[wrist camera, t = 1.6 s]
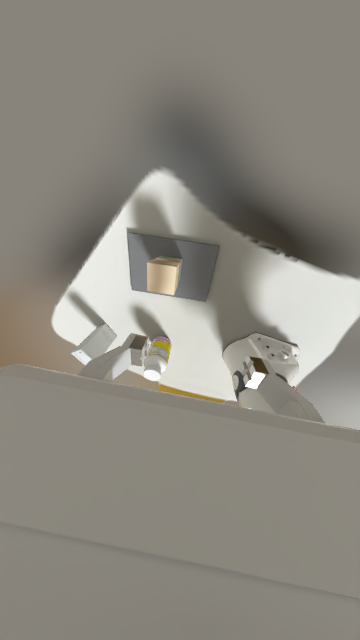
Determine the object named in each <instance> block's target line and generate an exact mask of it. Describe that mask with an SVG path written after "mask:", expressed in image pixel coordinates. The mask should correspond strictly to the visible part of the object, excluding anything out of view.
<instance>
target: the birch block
mask: <svg viewBox="0 0 360 640" xmlns="http://www.w3.org/2000/svg"><path fill="white" fill-rule="evenodd" d="M181 267H182V259H181V258H174V257H168V256H159V257H157V258H155V259H153V260H151V261H149V262H147V291H150V292H156V293H162V294H169V295H174V294H175V291H176V289H177V286H178V284H179V281H180V275H181Z"/></svg>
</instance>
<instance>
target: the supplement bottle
mask: <svg viewBox="0 0 360 640" xmlns="http://www.w3.org/2000/svg"><path fill="white" fill-rule="evenodd" d="M170 350H171V342H170V341H169V339H167V338H165V337H161V336H160V337H156V338H155V339H154V340H153V341H152V343H151V346H150V348H149V351H148V354H147V356H146V358H145V361H144V367H145V369H144V372H143V375H144V377H145V378H146V379H148V380H151V381H157V380H159V379H160V377H161V373H162V372H164V371H165V369H166V367H167V363H168V358H169V354H170Z"/></svg>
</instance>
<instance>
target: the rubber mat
mask: <svg viewBox="0 0 360 640" xmlns="http://www.w3.org/2000/svg"><path fill="white" fill-rule="evenodd" d="M128 244H129V258H130V271H131V285H132V290H135V291H141V292H147V293H154V294H160V295H166V296H173V297H179V298H185V299H192V300H198V301H204V302H206V299H207V295H208V291H209V287H210V283H211V279H212V274H213V270H214V266H215V262H216V258H217V254H218V250H219V246H216V245H209V244H203V243H196V242H189V241H182V240H175V239H168V238H161V237H154V236H147V235H141V234H134V233H128ZM159 256H168V257H174V258H181V259H182V267H181V275H180V281H179V284H178V286H177V289H176V291H175V294H174V295H169V294H162V293H156V292H150V291H147V262H149V261H151V260H153V259H155V258H157V257H159Z"/></svg>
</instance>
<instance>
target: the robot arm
mask: <svg viewBox="0 0 360 640" xmlns="http://www.w3.org/2000/svg"><path fill="white" fill-rule="evenodd" d="M258 338H259V339H258ZM148 342H149V337H147V336H142V335H137V334H132V333H131V334H130V335H129V336H128V338H127V339H126V341H125V342H124V344H123V345H122V346H119V347H117V348H115V349H113V350H111V351H109V352H107V353H105V354H103V355H101V356H99V357H96V358H94V359H92V360H90V361H89V362H88V363H87V364H86V365H85V367H84V368H83V369H82V370H81V371H80V373H78V375H74V374H69V373H64V372H58V371H53V370H48V369H43V368H38V367H33V366H28V365H23V364H13V365H9V366H6V367H2V368H0V640H360V430H357V429H352V428H346V427H341V426H336V425H331V424H326V423H325V422H324V421H323V419H322V418H321V416H320V415H319V413H318V412H317V410H316V409H315V408H314V406H313V404H312V403H310V402H309V401H308V400H307V399H306V398H304V397H303V396H302V395H301V394H299V393H298V392H297V390H295V389H294V388H295V387H294V386H293V387H291V386H290V385H289V383H290V382H291V381H292V380H293V378H294V377H295V376H296V375H297V373H298V370H299V364H298V362H297V359H298V357H299V354H300V350H299V348H298V347H297V346H294V345H291V344H288V343H285V342H282V341H279V340H276V339H274V338H271V337H268V336H265V335H262V334H259V333H253V334H251V335H250V336H248V337H247V338H244V339H241V340H237V341H235V342H233V343H231V344H230V345H229V346H228V347H227V348H226V349H225V350H224V352H223V360H224V362H225V363H226V365H227V367H228V369H229V371H230V374H231V376H232V382H233V388H234V391H235V395H236V398H237V401H238V402H239V404H240V407H239V406H233V405H228V404H223V403H218V402H213V401H208V400H202V399H197V398H192V397H187V396H182V395H177V394H172V393H167V392H161V391H156V390H151V389H146V388H141V387H135V386H130V385H125V384H120V383H115V382H114V381H113V379H114V378H116V377H117V376H118V375H119V374H121V373H122V372H123V371H125V370H126V369H127V368H129V367H130V366H131V365H136V366H142V365H143V363H144V361H145V356H147V354H148V350H149V344H148Z"/></svg>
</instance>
